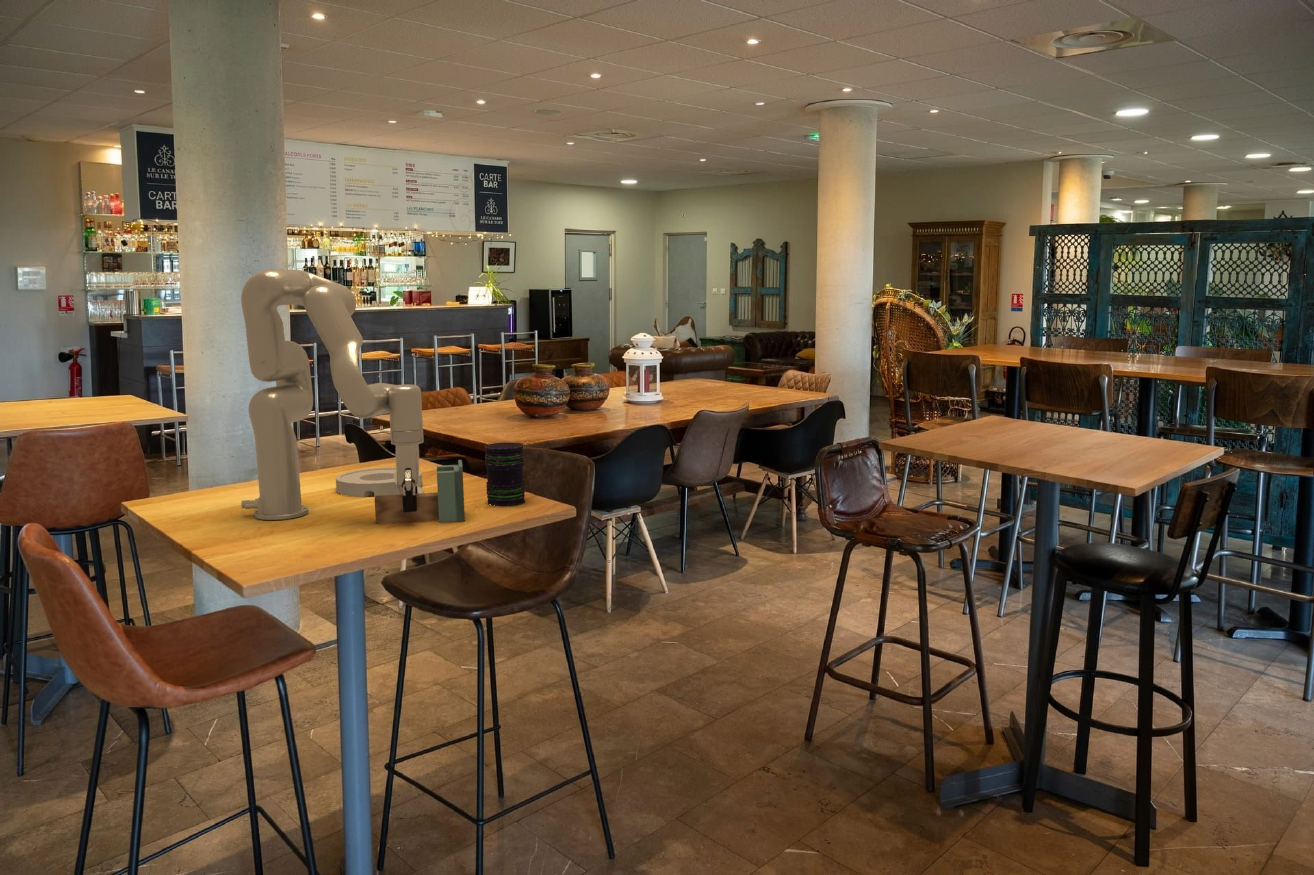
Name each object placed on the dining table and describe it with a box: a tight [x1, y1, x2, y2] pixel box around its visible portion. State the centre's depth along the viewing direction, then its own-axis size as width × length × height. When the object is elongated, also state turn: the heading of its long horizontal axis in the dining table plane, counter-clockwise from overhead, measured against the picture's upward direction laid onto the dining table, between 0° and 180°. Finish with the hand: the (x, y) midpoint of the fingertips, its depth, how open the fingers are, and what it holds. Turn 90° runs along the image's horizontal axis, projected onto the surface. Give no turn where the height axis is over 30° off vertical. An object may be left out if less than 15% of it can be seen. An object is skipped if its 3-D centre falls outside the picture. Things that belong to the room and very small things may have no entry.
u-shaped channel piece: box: [436, 459, 466, 524], centre depth 235 cm, size 6×10×13 cm, turn 13°
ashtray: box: [335, 466, 424, 498], centre depth 271 cm, size 23×23×4 cm
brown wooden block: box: [374, 491, 439, 525], centre depth 233 cm, size 17×4×8 cm, turn 103°
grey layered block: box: [394, 472, 425, 495], centre depth 254 cm, size 17×5×10 cm, turn 15°
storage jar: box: [484, 442, 526, 507], centre depth 250 cm, size 10×10×15 cm
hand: (410, 507), depth 233 cm, fingers open, 9 cm apart
